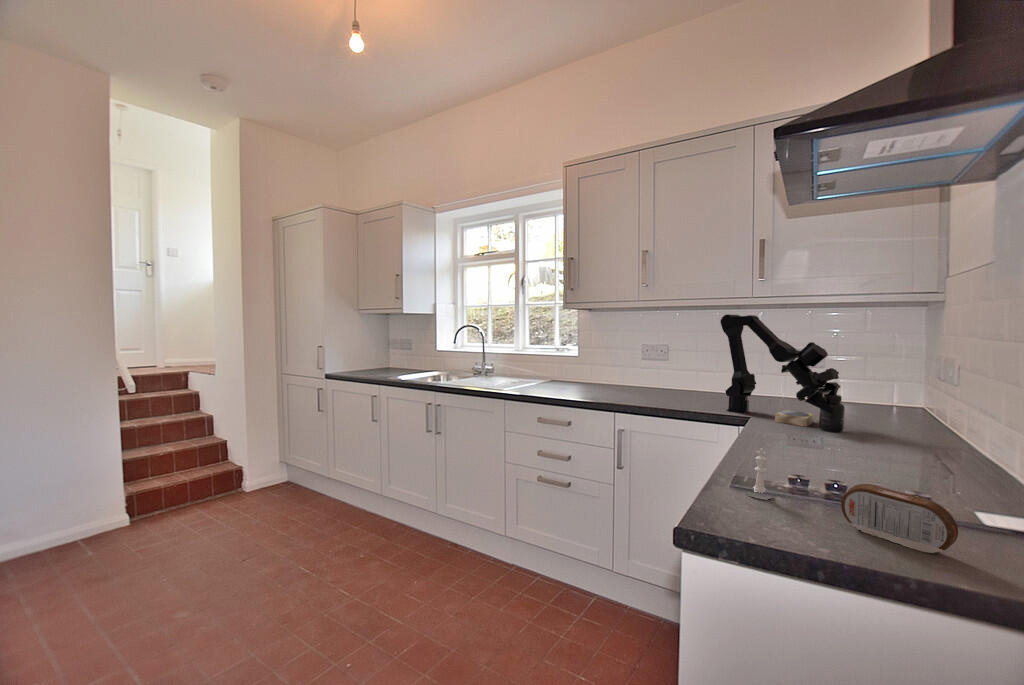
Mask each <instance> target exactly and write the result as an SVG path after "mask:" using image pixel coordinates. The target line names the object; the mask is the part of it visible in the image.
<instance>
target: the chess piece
mask: <svg viewBox="0 0 1024 685" xmlns="http://www.w3.org/2000/svg"><path fill="white" fill-rule="evenodd" d="M756 454H758V455H757V456H755V461H756V465H757V466H756V467H755V468H754V470H755V471H757V474H756V480H755V484H754V486H753V487H752V488H754V492H759V493H760V492H761V493H763V492H765V490H767V488H766V487H765V482H764V472H767V469H766V468H764V467H765V464H766V462H767V458H766V457H764V456H763V455H766V454H767V452H766V451H763V448H760V449H759V450H756Z"/></svg>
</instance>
